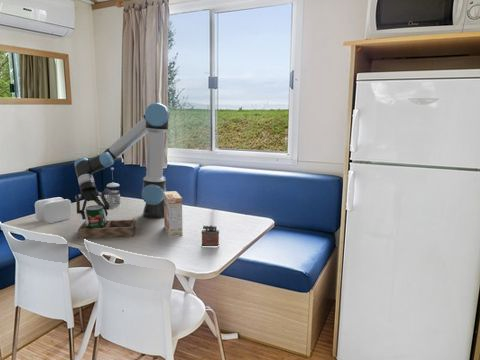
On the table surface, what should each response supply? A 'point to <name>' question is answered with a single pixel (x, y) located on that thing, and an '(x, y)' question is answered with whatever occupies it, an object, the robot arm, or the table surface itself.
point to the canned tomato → (95, 216)
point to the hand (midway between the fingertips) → (96, 223)
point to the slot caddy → (109, 229)
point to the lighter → (210, 236)
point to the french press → (113, 195)
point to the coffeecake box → (173, 213)
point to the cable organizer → (53, 209)
